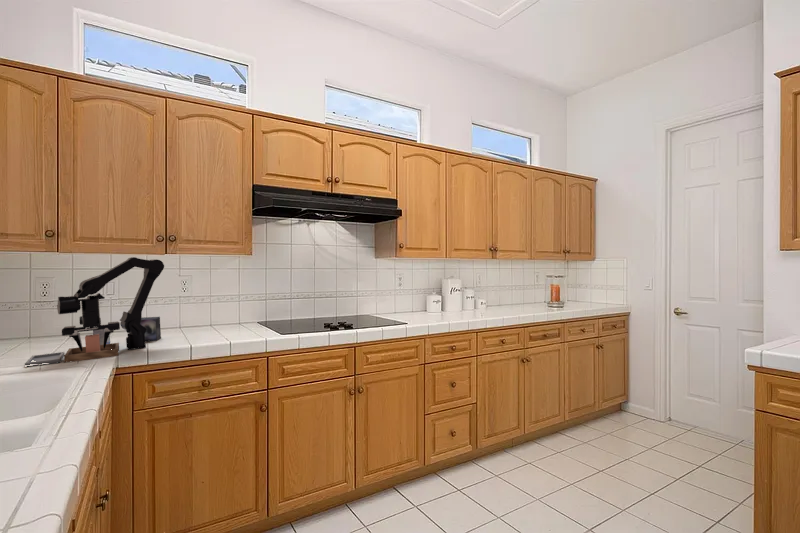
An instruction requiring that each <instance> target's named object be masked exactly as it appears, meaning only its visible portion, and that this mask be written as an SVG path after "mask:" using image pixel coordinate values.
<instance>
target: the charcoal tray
mask: <svg viewBox="0 0 800 533" xmlns="http://www.w3.org/2000/svg"><path fill="white" fill-rule="evenodd" d="M65 354H66V352H65V351H59V352H52V353H44V354H36V355H32V356H30V357H29V359H27V361H26V362H25V363H24V366H25V365H30V364H42V363H55V364H58V363H57V362H60V361H61V362H62V361H63V359H64V355H65ZM32 360H34V361H36V362H31V361H32ZM61 362H60V363H61Z"/></svg>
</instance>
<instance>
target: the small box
mask: <svg viewBox="0 0 800 533" xmlns="http://www.w3.org/2000/svg"><path fill="white" fill-rule="evenodd" d="M140 324H141V325H142V326H143V327H145V328H146V329H147V330H146V333H145V343H146V342H157V341H160V339H162V333H161V331H162V330H161V317H160V316H149V317H148V316H147V317H142V318H141V323H140Z"/></svg>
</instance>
